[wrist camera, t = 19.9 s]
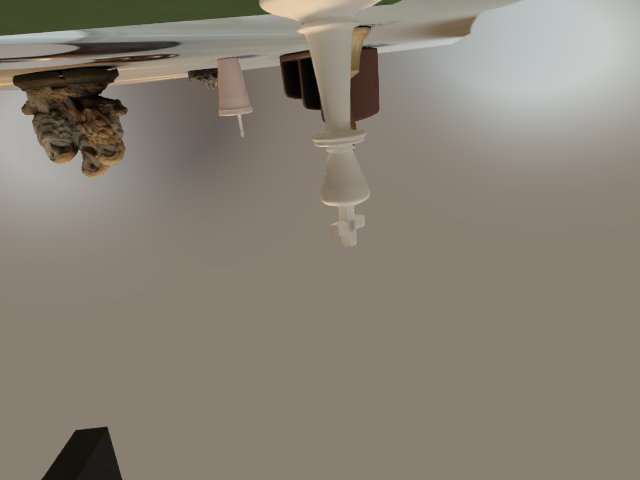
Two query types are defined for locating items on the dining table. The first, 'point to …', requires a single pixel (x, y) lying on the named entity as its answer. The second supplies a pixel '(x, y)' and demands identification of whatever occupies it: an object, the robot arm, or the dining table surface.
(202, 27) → the dining table surface
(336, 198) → the chess piece
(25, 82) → the owl figurine
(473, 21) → the dining table surface
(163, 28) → the dining table surface
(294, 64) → the letter holder
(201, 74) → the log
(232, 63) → the smoothie
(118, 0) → the sponge pad
